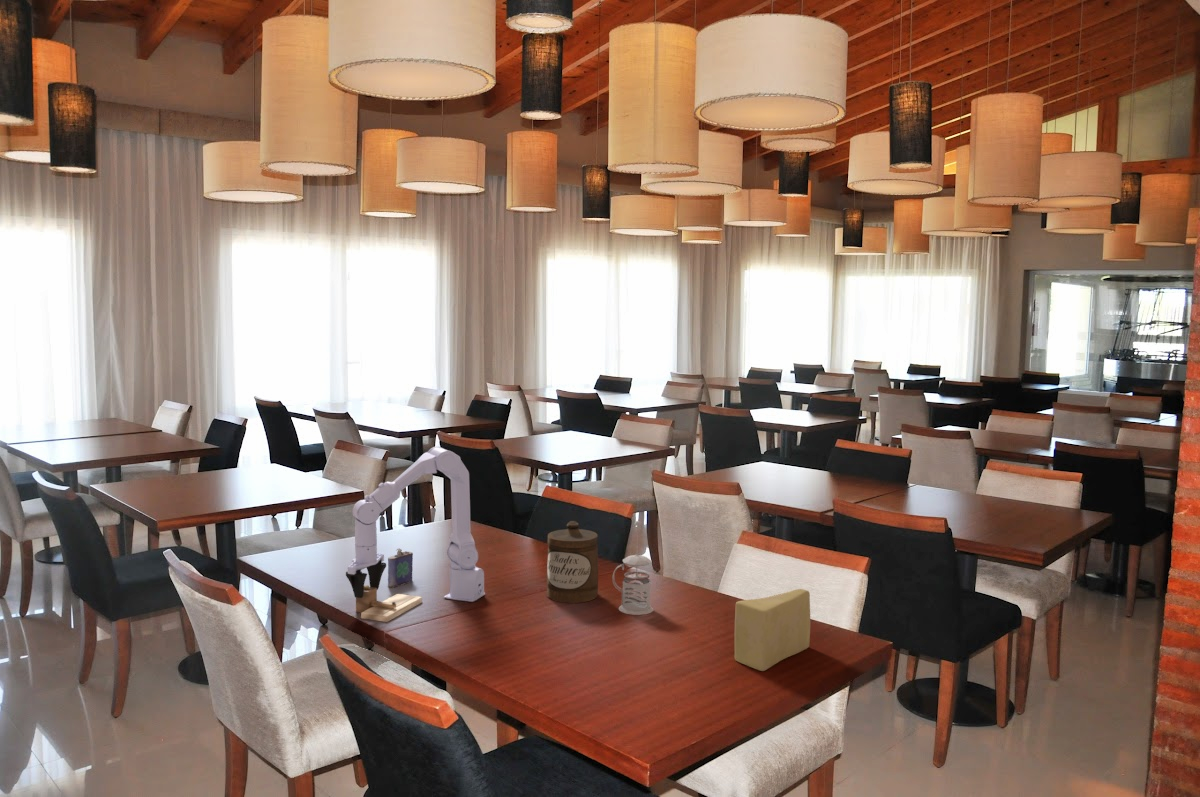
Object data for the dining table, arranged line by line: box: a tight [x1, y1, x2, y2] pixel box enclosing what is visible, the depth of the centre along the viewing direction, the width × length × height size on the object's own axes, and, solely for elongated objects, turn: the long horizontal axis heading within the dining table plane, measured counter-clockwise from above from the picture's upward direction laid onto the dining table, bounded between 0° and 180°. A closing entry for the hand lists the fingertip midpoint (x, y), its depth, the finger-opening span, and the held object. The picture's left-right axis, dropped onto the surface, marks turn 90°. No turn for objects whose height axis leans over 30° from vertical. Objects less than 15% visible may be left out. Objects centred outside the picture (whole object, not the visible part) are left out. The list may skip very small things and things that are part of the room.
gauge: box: [355, 585, 396, 614], centre depth 252 cm, size 11×4×7 cm, turn 71°
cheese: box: [734, 588, 811, 672], centre depth 224 cm, size 22×10×15 cm, turn 129°
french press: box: [612, 520, 654, 616], centre depth 258 cm, size 10×12×25 cm
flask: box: [387, 548, 414, 589], centre depth 278 cm, size 9×3×11 cm, turn 146°
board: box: [360, 593, 423, 623], centre depth 254 cm, size 8×18×2 cm, turn 161°
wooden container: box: [546, 520, 599, 604], centre depth 269 cm, size 15×15×22 cm
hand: (366, 593), depth 253 cm, fingers open, 7 cm apart
